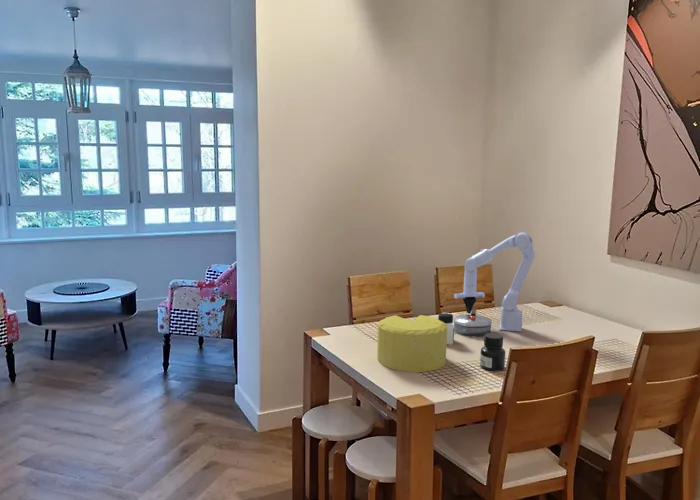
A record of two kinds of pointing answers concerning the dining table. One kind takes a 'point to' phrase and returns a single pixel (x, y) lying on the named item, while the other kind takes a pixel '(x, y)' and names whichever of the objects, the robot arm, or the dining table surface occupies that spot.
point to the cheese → (412, 343)
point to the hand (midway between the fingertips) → (468, 312)
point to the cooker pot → (471, 330)
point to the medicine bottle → (448, 326)
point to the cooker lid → (472, 320)
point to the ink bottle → (492, 352)
